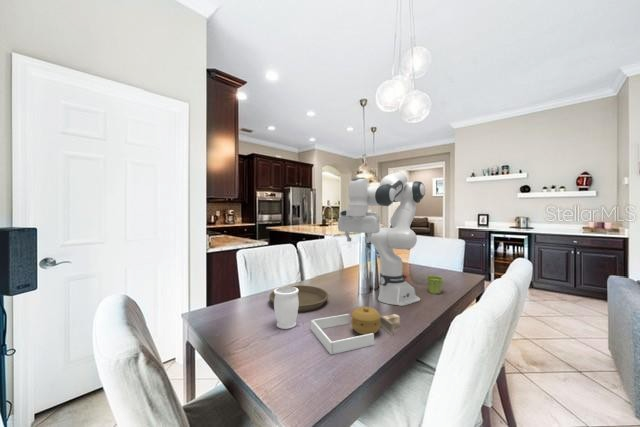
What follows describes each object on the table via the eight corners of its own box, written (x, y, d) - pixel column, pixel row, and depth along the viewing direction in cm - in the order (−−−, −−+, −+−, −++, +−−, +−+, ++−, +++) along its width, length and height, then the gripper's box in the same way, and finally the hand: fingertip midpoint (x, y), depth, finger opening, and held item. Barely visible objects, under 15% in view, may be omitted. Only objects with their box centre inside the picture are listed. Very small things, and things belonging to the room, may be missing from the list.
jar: (291, 332, 105) (291, 295, 105) (269, 328, 109) (269, 292, 108) (302, 321, 115) (302, 287, 115) (281, 318, 118) (281, 285, 118)
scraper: (388, 319, 117) (388, 310, 117) (407, 331, 106) (407, 320, 105) (374, 322, 114) (374, 312, 114) (391, 335, 103) (391, 324, 103)
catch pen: (348, 322, 113) (348, 313, 113) (373, 344, 95) (374, 333, 95) (311, 329, 107) (311, 320, 107) (330, 354, 89) (330, 343, 89)
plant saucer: (338, 308, 130) (338, 299, 130) (276, 318, 119) (276, 308, 119) (316, 290, 159) (316, 282, 159) (264, 296, 148) (264, 288, 147)
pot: (348, 325, 111) (348, 302, 111) (375, 324, 112) (376, 301, 111) (354, 339, 99) (354, 313, 99) (384, 338, 100) (384, 312, 100)
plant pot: (424, 293, 153) (424, 278, 153) (427, 289, 161) (428, 274, 160) (441, 296, 148) (441, 280, 147) (444, 291, 155) (444, 277, 155)
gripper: (382, 212, 118) (381, 243, 118) (343, 212, 130) (343, 240, 130) (376, 212, 113) (375, 244, 113) (336, 212, 125) (336, 241, 125)
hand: (358, 242), depth 122 cm, fingers open, 8 cm apart
